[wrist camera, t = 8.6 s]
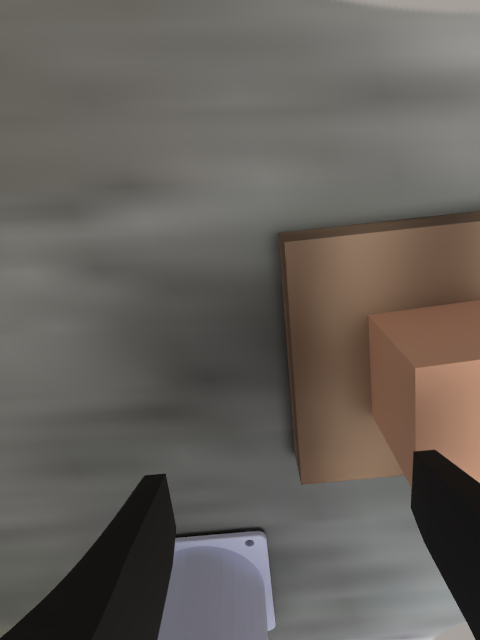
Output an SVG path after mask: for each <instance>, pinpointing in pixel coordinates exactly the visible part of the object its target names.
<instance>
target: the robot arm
mask: <svg viewBox="0 0 480 640" xmlns="http://www.w3.org/2000/svg"><path fill="white" fill-rule="evenodd" d="M411 509H412V512H413V515H414V517H415V520H416V522H417V525H418V528H419V530H420V533H421V535H422V538H423V540H424V542H425V544H426V546H427V548H428V550H429V552H430V554H431V556H432V558H433V560H434V562H435V564H436V565H437V567H438V569H439V571H440V573H441V575H442V577H443V579H444V580H445V582H446V584H447V586H448V588H449V590H450V592H451V594H452V595H453V597H454V599H455V601H456V603H457V605H458V607H459V608H460V610H461V612H462V614H463V616H464V618H465V620H466V621H467V623H468V625H469V627H470V629H471V631H472V633H473V635H474V637H475V639H476V640H480V483H479V482H478V481H476V480H475V479H474V478H472V477H471V476H470V475H468V474H467V473H466V472H464V471H463V470H462V469H460V468H459V467H458V466H456V465H455V464H454V463H452V462H451V461H450V460H448V459H447V458H446V457H444V456H443V455H442V454H440V453H439V452H438V451H436V450H425V451H413V472H412V494H411ZM175 536H176V525H175V519H174V514H173V509H172V504H171V499H170V494H169V489H168V484H167V479H166V474H157V475H145V476H144V477H143V478H142V480H141V481H140V482H139V484H138V485H137V487H136V488H135V490H134V491H133V492H132V494H131V495H130V497H129V498H128V500H127V501H126V502H125V504H124V505H123V507H122V508H121V509H120V511H119V512H118V513H117V515H116V516H115V517H114V519H113V520H112V521H111V523H110V524H109V525H108V527H107V528H106V529H105V531H104V532H103V533H102V535H101V536H100V537H99V538H98V540H97V541H96V542H95V543H94V544H93V546H92V547H91V548H90V549H89V550H88V552H87V553H86V554H85V555H84V556H83V558H82V559H81V560H80V561H79V562H78V563H77V565H76V566H75V567H74V568H73V569H72V570H71V571H70V572H69V573H68V575H67V576H66V577H65V578H64V579H63V580H62V581H61V582H60V583H59V584H58V585H57V586H56V587H55V588H54V589H53V590H52V591H51V592H50V593H49V594H48V595H47V596H46V597H45V598H44V599H43V600H42V601H41V602H40V603H39V604H38V605H37V606H36V607H35V608H34V609H32V610H31V611H30V612H29V613H28V614H27V615H26V616H25V617H24V618H23V619H22V620H20V621H19V622H18V623H17V624H16V625H15V626H14V627H13V628H12V629H11V630H9V631H8V632H7V633H6V634H5V635H3V636H2V637H1V638H0V640H268V631H270V630H272V629H274V627H275V616H274V606H273V596H272V587H271V577H270V568H269V558H268V548H267V539H266V535H265V534H264V533H263V532H261V531H251V532H239V533H227V534H216V535H204V536H192V537H181V538H175ZM247 540H252V541H247Z"/></svg>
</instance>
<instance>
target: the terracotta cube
mask: <svg viewBox="0 0 480 640" xmlns="http://www.w3.org/2000/svg"><path fill="white" fill-rule="evenodd" d="M368 322H369V346H370V369H371V393H372V416H373V418H374V420H375V422H376V424H377V425H378V427H379V429H380V431H381V433H382V434H383V436H384V438H385V440H386V442H387V444H388V445H389V447H390V449H391V451H392V453H393V455H394V456H395V458H396V460H397V462H398V464H399V466H400V467H401V469H402V471H403V473H404V475H405V476H406V478H407V480H408V482H409V484H410V486H411V487H412V472H413V451H425V450H436V451H438V452H439V453H440V454H442V455H443V456H444V457H446V458H447V459H448V460H450V461H451V462H452V463H454V464H455V465H456V466H458V467H459V468H460V469H462V470H463V471H464V472H466V473H467V474H468V475H470V476H471V477H472V478H474V479H475V480H476V481H478V482H479V483H480V300H476V301H468V302H461V303H454V304H446V305H439V306H432V307H424V308H417V309H410V310H402V311H395V312H388V313H380V314H373V315H368Z"/></svg>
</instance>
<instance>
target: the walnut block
mask: <svg viewBox="0 0 480 640" xmlns="http://www.w3.org/2000/svg"><path fill="white" fill-rule="evenodd" d="M279 247H280V260H281V273H282V287H283V300H284V314H285V327H286V340H287V354H288V367H289V380H290V394H291V407H292V421H293V434H294V447H295V456H296V461H297V465H298V470H299V475H300V480H301V485H304V484H315V483H326V482H337V481H348V480H358V479H369V478H380V477H391V476H401V475H404V473H403V471H402V469H401V467H400V466H399V464H398V462H397V460H396V458H395V456H394V455H393V453H392V451H391V449H390V447H389V445H388V444H387V442H386V440H385V438H384V436H383V434H382V433H381V431H380V429H379V427H378V425H377V424H376V422H375V420H374V418H373V416H372V393H371V369H370V346H369V322H368V315H373V314H380V313H388V312H395V311H402V310H410V309H417V308H424V307H432V306H439V305H446V304H454V303H461V302H468V301H476V300H480V211H477V212H468V213H458V214H449V215H440V216H431V217H422V218H412V219H403V220H394V221H385V222H376V223H366V224H357V225H348V226H339V227H330V228H320V229H311V230H302V231H293V232H284V233H279Z"/></svg>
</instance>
